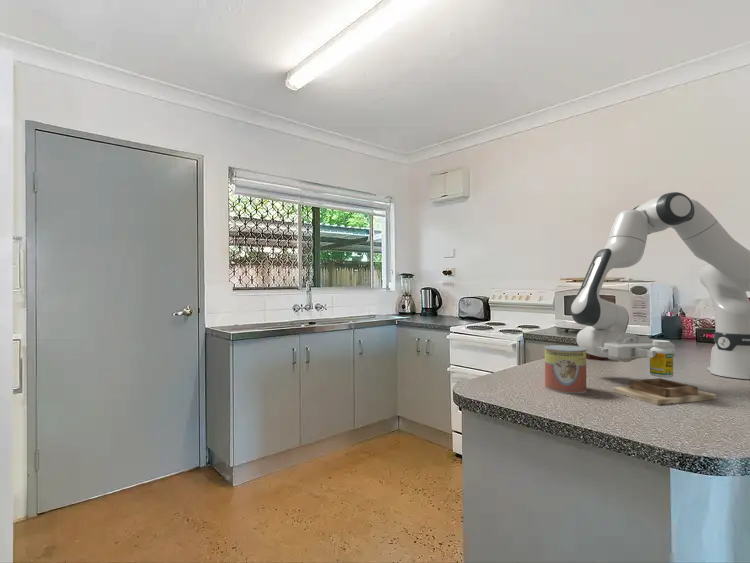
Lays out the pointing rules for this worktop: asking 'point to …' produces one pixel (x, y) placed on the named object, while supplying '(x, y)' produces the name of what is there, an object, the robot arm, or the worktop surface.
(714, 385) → the worktop surface
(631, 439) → the worktop surface
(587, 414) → the worktop surface
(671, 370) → the supplement bottle
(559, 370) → the canned food
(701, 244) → the robot arm
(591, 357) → the muffin
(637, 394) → the wooden tray
